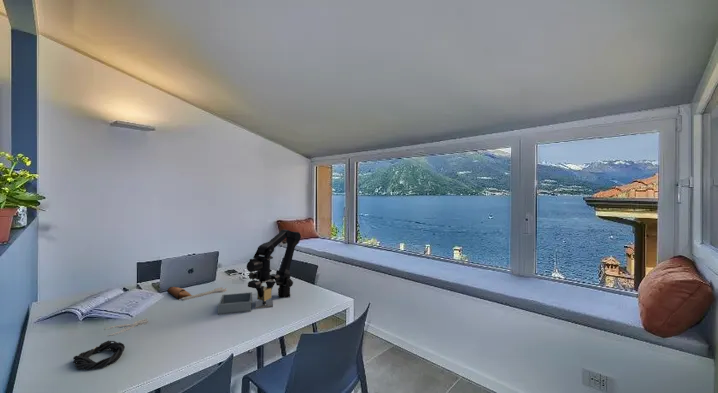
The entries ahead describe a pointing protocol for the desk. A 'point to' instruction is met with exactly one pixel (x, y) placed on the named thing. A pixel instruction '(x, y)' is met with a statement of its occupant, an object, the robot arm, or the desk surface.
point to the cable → (87, 363)
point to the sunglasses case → (178, 292)
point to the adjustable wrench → (205, 293)
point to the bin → (235, 303)
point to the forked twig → (129, 325)
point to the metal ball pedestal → (264, 304)
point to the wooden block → (265, 294)
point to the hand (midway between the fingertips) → (264, 296)
